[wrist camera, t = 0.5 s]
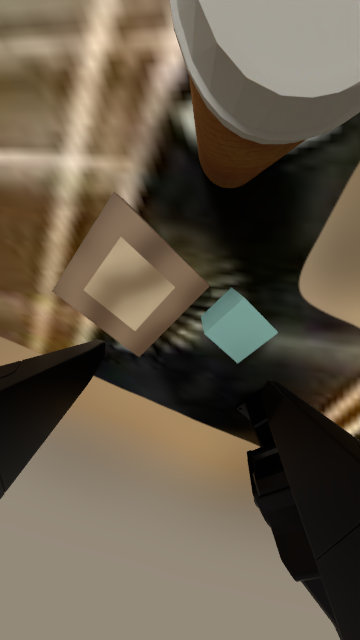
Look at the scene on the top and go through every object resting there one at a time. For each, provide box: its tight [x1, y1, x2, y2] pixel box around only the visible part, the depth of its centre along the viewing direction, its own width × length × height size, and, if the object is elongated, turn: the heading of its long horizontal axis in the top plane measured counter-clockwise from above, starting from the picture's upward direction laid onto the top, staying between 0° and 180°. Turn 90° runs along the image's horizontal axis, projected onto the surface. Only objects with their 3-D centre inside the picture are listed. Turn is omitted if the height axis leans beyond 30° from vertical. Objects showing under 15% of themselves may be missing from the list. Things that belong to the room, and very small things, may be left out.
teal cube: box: [201, 288, 278, 363], centre depth 19 cm, size 5×5×5 cm
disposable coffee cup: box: [170, 0, 360, 188], centre depth 10 cm, size 10×10×12 cm
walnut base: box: [52, 192, 209, 357], centre depth 19 cm, size 12×12×2 cm
